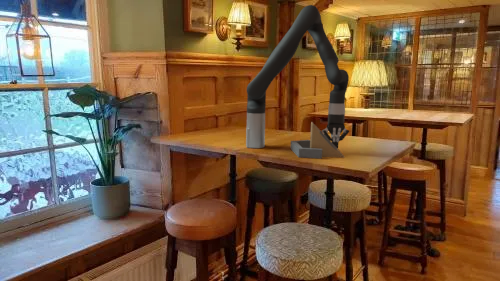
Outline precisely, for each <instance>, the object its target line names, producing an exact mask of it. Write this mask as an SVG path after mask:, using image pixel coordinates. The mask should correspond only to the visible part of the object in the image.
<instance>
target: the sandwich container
mask: <svg viewBox="0 0 500 281" xmlns="http://www.w3.org/2000/svg"><path fill="white" fill-rule="evenodd" d="M309 140H310V148H316V149H322V158H345V155H344V154H343V153H342V152H341V150H340V149H339V147H338V148H337V147H336V146H335V145H334V144H333V143H332V141H330V140H329V139H328V138H327V137H326V136H325V135H324V133H323V132H322V130H321V129H320V128H319V127H318V126H317V125H316V124H314V122H313V121H311V123H310V138H309Z"/></svg>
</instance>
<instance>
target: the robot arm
mask: <svg viewBox="0 0 500 281" xmlns="http://www.w3.org/2000/svg"><path fill="white" fill-rule="evenodd" d="M307 32H308V33H309V35H310V37H311V38H312V40H313V42H314V45H315V48H316V50H317V53H318V55H319V58H320V60H321V61H322V64H323V66H324V72H325V75H326V76H325V77H326V79H327V81H328V82H329V84H331V85H333V89H332V90H331V91H330V92H329V100H328V101H329V103H328V109H327V110H328V113H327V124H326V128H324V129H322V130H321V132H322V133H323V134H324V135H325V136H326V137H327V138H328V139H329V140H330V141H331V142H332V143H333V144H334V145H335V146H336V147H337V148H338V149H339V142H340V141H341V142H342V141H343V140H344V139H345V137H346V136H347V135H348V134H349V133H350V130H349V129H347V128H346V126H345V118H346V117H345V116H346V104H345V103H346V93H347V89H348V85H349V82H350V81H349V73H348V72H347V70H346V69H340V68H339V65H338V63H339V62H340V61H339V57H338V55H337V53H336V51H335V49H334V46H333V45H332V43H331V41H330V39H329V37H328V36H327V34H326V31H325V29H324V26H323V21H322V16H321V12H320V11H319V9H318V7H316V6H315V5H314V4H312V5H311V4H309V5H306V6H304V7H303V8H302V9H301V10H300V12H299V13H298V14H297V17H296V18H295V20H294V22H293V23H292V25H291V26H290V28H289V29H288V31H287V32H286V33H285V35H284V36H283V37H282V39H281V40H280V41H279V42H278V44H277V45H276V47H275V48H274V49H273V50H272V52H271V54H270V55H269V57H268V58H267V60H266V61H265V63H264V65H263V67H262V68H261V70H260V71H259V72H258V73H257V75H256V76H255V77H253V79H252V80H251V81H250V82H249V83H248V84H247V86H246V94H247V101H246V126H245V128H246V130H245V137H246V138H245V146H246V148H250V149H261V148H265V142H266V141H265V140H266V138H265V136H266V108H267V107H266V105H267V104H266V103H267V102H266V101H267V100H266V99H267V97H266V96H267V90H268V88H269V87H270V85H271V83H272V82H273V80H274V79H275V78H276V77H277V76H278V75H279V74H280V73H281V72H282V71H283V70H284V69H285V68H286V66H287V65H288V64H289V63H290V61H291V60H292V59H293V57H294V56H295V54H296V52H297V50H298V48H299V45H300V43H301V40H302V39H303V37H304V35H305V34H306V33H307ZM329 133H330V135H329Z"/></svg>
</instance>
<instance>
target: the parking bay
mask: <svg viewBox="0 0 500 281" xmlns="http://www.w3.org/2000/svg"><path fill="white" fill-rule="evenodd" d="M290 150H291V151H292V152H293V153H294V154H295V155H296V157H297V158H303V159H305V158H307V159H323V157H322V149H316V148H310V139H303V140H302V139H301V140H290Z"/></svg>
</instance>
